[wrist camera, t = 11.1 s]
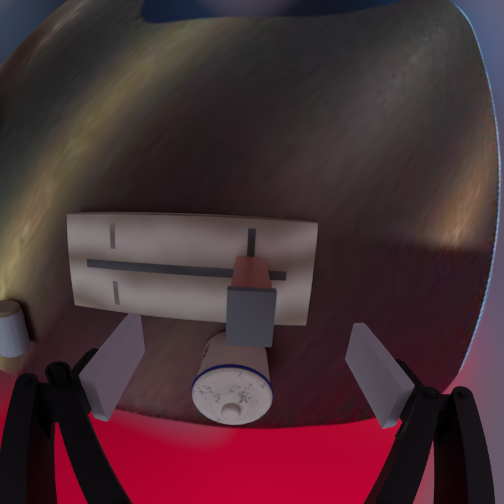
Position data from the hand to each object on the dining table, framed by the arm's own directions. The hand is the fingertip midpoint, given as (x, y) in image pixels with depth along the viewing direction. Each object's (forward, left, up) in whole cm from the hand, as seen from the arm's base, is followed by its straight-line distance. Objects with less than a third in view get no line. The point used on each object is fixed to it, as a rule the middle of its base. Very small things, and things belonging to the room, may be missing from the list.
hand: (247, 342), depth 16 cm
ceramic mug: (+13, -42, -18) cm, 47 cm away
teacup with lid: (+14, -1, -18) cm, 23 cm away
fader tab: (0, 0, -14) cm, 14 cm away
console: (0, -8, -18) cm, 19 cm away
